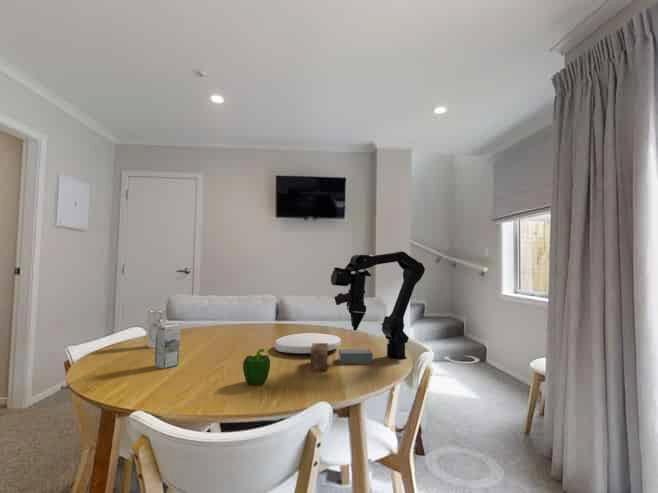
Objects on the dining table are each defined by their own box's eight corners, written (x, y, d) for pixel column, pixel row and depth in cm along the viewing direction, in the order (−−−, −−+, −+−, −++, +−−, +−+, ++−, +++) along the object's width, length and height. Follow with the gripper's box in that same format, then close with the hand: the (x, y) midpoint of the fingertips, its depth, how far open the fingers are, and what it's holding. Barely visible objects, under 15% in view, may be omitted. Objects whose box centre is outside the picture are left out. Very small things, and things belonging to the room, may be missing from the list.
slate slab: (369, 359, 135) (369, 349, 136) (372, 364, 129) (372, 353, 130) (338, 359, 134) (338, 349, 135) (340, 364, 128) (340, 353, 129)
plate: (266, 344, 137) (282, 331, 164) (267, 361, 137) (283, 345, 163) (337, 339, 135) (341, 327, 161) (338, 356, 134) (342, 341, 161)
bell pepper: (249, 389, 101) (250, 354, 102) (238, 381, 108) (239, 349, 108) (275, 384, 106) (276, 350, 106) (263, 376, 113) (264, 345, 113)
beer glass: (149, 344, 154) (151, 310, 155) (166, 344, 155) (167, 310, 155) (143, 348, 147) (144, 312, 148) (160, 348, 148) (161, 312, 148)
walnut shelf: (327, 361, 131) (327, 343, 131) (327, 371, 119) (327, 351, 120) (312, 361, 131) (312, 343, 131) (310, 371, 119) (310, 350, 120)
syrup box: (169, 362, 127) (171, 322, 128) (179, 365, 123) (180, 324, 124) (154, 366, 122) (155, 324, 123) (163, 369, 119) (165, 326, 119)
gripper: (336, 284, 143) (332, 323, 142) (336, 286, 125) (333, 330, 123) (363, 287, 143) (360, 325, 142) (367, 289, 124) (364, 333, 123)
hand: (354, 328), depth 133 cm, fingers open, 9 cm apart
